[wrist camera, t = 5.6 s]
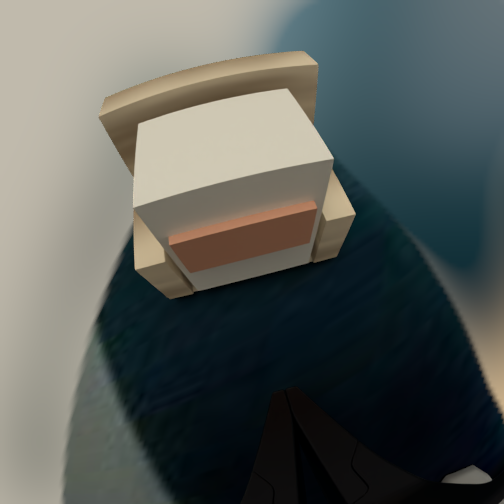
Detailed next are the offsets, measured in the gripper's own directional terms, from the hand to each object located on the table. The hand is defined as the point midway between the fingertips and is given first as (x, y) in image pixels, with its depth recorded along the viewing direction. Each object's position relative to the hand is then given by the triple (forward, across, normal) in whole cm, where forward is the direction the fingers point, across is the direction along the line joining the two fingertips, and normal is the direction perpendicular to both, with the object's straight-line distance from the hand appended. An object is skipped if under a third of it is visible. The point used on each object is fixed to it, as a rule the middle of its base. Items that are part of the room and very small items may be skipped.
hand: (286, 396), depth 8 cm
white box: (+11, 0, -2) cm, 11 cm away
